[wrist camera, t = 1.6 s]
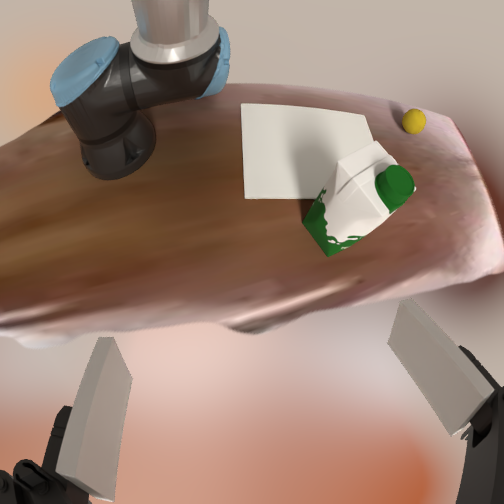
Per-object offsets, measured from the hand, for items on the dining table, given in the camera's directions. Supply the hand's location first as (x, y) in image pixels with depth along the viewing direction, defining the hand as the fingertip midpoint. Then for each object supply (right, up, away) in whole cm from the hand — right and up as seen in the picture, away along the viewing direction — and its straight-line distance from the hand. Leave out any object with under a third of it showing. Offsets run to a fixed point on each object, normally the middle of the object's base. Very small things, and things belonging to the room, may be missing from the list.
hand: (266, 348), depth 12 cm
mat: (+12, +24, +39) cm, 47 cm away
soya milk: (+12, +8, +34) cm, 37 cm away
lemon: (+37, +33, +44) cm, 67 cm away
